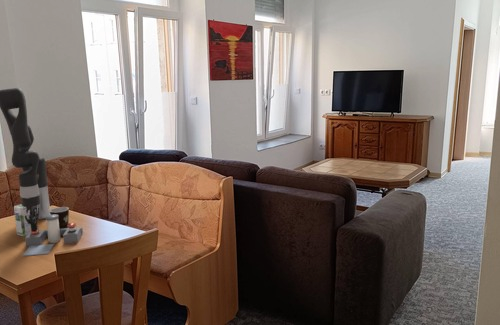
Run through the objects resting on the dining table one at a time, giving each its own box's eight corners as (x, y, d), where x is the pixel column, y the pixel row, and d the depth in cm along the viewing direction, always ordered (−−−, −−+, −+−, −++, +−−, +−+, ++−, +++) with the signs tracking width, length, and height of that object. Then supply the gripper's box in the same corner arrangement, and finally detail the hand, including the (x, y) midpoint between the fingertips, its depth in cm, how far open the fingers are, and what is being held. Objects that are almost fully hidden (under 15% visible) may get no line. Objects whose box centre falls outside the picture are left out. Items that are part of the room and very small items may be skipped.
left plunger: (32, 238, 183) (31, 229, 182) (41, 237, 183) (40, 228, 182) (30, 241, 179) (29, 232, 178) (38, 240, 180) (37, 231, 179)
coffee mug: (65, 224, 204) (63, 205, 202) (73, 227, 199) (71, 209, 197) (42, 230, 195) (40, 211, 193) (50, 234, 190) (48, 215, 188)
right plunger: (69, 231, 185) (68, 223, 184) (77, 230, 186) (76, 222, 185) (67, 234, 182) (66, 225, 181) (75, 233, 183) (74, 225, 182)
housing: (34, 236, 188) (33, 228, 187) (82, 232, 192) (82, 225, 192) (26, 246, 177) (25, 237, 176) (77, 241, 181) (77, 233, 181)
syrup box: (16, 234, 190) (12, 206, 187) (28, 230, 195) (24, 203, 192) (23, 237, 187) (20, 208, 184) (35, 232, 193) (31, 204, 190)
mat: (30, 246, 176) (30, 245, 176) (54, 244, 179) (54, 243, 178) (22, 256, 167) (22, 255, 167) (47, 254, 169) (47, 253, 169)
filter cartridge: (50, 238, 185) (47, 214, 183) (62, 237, 186) (59, 214, 184) (46, 243, 180) (43, 218, 177) (59, 242, 181) (56, 217, 179)
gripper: (25, 191, 182) (30, 226, 186) (15, 199, 170) (20, 237, 173) (43, 190, 184) (47, 225, 187) (34, 198, 171) (38, 235, 175)
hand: (34, 230), depth 180 cm, fingers closed
